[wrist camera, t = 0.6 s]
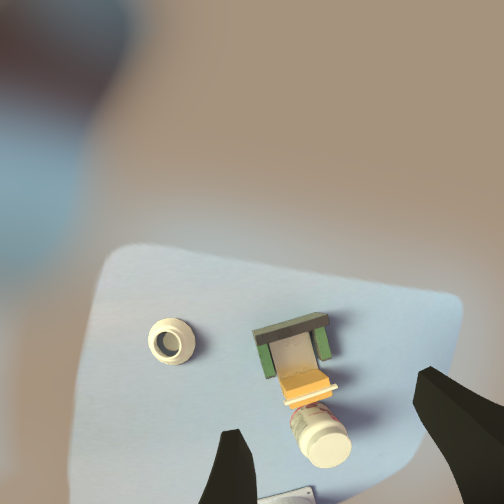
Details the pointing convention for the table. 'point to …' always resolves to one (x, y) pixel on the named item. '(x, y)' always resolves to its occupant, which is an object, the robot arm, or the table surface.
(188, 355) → the white jar
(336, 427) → the pill bottle
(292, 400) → the orange block with lip
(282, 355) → the grey drawer frame
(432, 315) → the table surface
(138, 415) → the table surface
